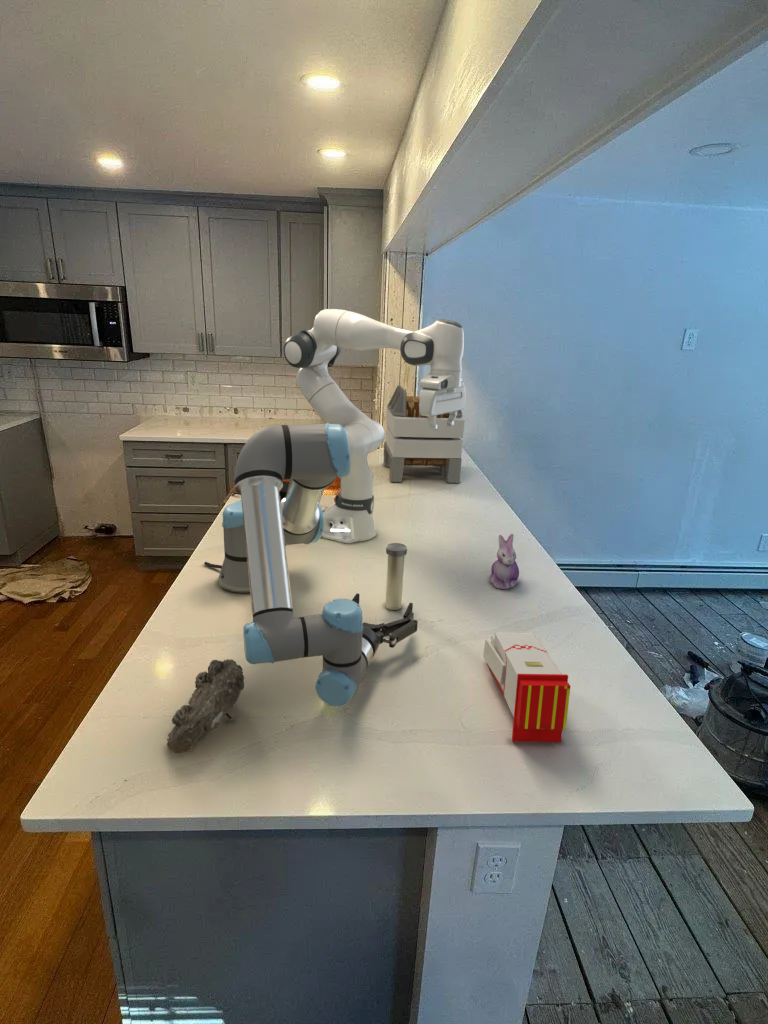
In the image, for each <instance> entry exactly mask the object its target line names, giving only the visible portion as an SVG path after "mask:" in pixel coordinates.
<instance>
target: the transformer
mask: <svg viewBox="0 0 768 1024" xmlns="http://www.w3.org/2000/svg"><path fill="white" fill-rule="evenodd" d="M407 394H408V393H407V390H406V389H404V388H403V387H402V385H399V384H398V385H397V386H396V388H395V390H394V392H393V394H392V395H391V398H390V400H389V402H388V404H387V405H386V413H385V414H386V415H385V423H386V428H385V439H384V441H383V466H384V467H388V468H389V475H388V476H389V477H388V478H389V480H390V482H391V483H402V482H403V475H404V469H405V466H406V467H407V466H411V467H412V466H413V467H415V466H416V467H417V466H418V467H436V468H437V470H438V469H439V473H440V474H441V475H443V478H444V479H445V481H446V482H447V483H449V484H455V483H456V484H459V483H461V472H462V461H463V460H462V453H463V442H464V441H463V440H462V439H463V438H464V431H465V430H464V429H465V419H464V418H463V411H462V410H459V411H457V416H456V418H455V421H454V426H451V427H450V426H447V420H448V419H449V415H450V414H449V413H445V414H440V415H437V417H436V419H435V421H436V424H438V426H437V430H435V431H430V429H429V427H430V424H429V421H428V416H422V415H421V414H420V412H419V399H420V396H415V395H414V396H413V395H412V396H411V395H407Z"/></svg>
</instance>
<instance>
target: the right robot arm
mask: <svg viewBox="0 0 768 1024" xmlns="http://www.w3.org/2000/svg"><path fill="white" fill-rule="evenodd" d="M464 346H465V333H464V327H463V326H462V325H461V323H459V322H457V321H454V320H450V319H446V318H445V319H443V318H441V319H440V318H439V319H436V320H435V321H434V322H433V323H432V324H430V325H428V326H426V327H424V328H421V329H417V330H409V329H406V328H401V327H395V326H392V325H389V324H387V323H384V322H381V321H379V320H376V319H373V318H371V317H369V316H366V315H364V314H361V313H358V312H355V311H350V310H346V309H341V308H339V309H338V308H324V309H321V310H320V311H319V312H318V313H317V314H316V315H315V317H314V320H313V326H312V328H311V329H308V330H307V329H302V330H301V331H298V332H296V333H294V334H292V335H291V336H289V337H288V338H286V340H285V341H284V343H283V348H282V352H283V356H284V359H285V361H286V362H287V364H289V366H291V367H292V368H296V369H298V370H297V373H296V375H295V381H296V383H297V386H298V387H299V389H300V391H301V393H302V395H303V396H304V398H305V399H306V401H307V402H308V404H309V405H310V406H311V407H312V409H313V410H314V412H315V413H316V414H317V415H318V417H319V418H320V419H321V421H322V422H323V423H324V424H326V423H329V424H340V425H342V426H343V427H344V428H345V430H346V433H347V437H348V442H349V450H350V473H349V475H348V476H346V477H342V478H339V479H340V488H339V489H340V490H339V491H338V492H337V494H336V495H335V496H334V497H333V502H334V504H333V505H331V506H329V507H328V508H326V509H324V510H322V512H323V518H324V525H323V528H322V529H323V532H322V536H321V538H323V539H326V540H330V541H336V542H339V543H343V544H352V543H357V542H365V541H368V540H372V539H373V538H375V537H376V535H377V532H376V528H375V523H374V513H373V512H374V509H375V496H374V473H373V471H372V470H371V469H370V466H369V462H368V454H370V453H373V452H375V451H376V450H378V449H379V448H380V447H381V446H382V444H384V442H385V438H386V431H385V429H384V427H383V425H382V424H381V423H380V422H378V421H376V420H374V419H372V418H370V417H369V416H368V415H366V414H365V413H364V412H363V411H362V410H361V409H359V408H358V407H357V406H356V405H354V404H353V402H351V401H350V399H349V398H348V397H347V395H346V394H345V393H344V392H343V390H342V388H340V386H339V385H338V384H337V382H336V381H335V380H334V379H333V378H332V376H331V375H330V373H329V370H328V368H331V367H333V366H334V364H335V362H336V359H338V357H339V356H340V354H341V351H342V349H345V350H351V351H370V350H377V349H378V350H380V349H393V350H397V351H399V352H400V356H401V358H402V359H403V361H404V362H405V363H406V364H408V365H410V366H415V367H420V366H430V371H429V373H428V374H426V376H424V377H423V378H421V379H420V380H419V387H420V388H421V390H420V391H419V397H420V399H419V412H420V414H421V415H422V416H428V421H429V424H430V427H429V429H430V431H435V430H437V426H438V424H436V421H435V419H436V417H437V415H440V414H445V413H449V414H450V415H449V419H448V420H447V426H450V427H451V426H454V421H455V418H456V416H457V411H459V410H461V411H463V410H465V407H466V404H467V403H466V402H467V401H466V400H467V399H466V398H467V391H466V390H467V389H466V386H465V382H464V380H463V378H462V373H463V372H462V371H463V367H462V359H463V356H464V349H465V347H464ZM235 495H238V496H241V495H240V494H238V493H237V492H233V493H232V494H231V495H230V496H231V497H234V496H235Z"/></svg>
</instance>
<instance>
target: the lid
mask: <svg viewBox="0 0 768 1024" xmlns="http://www.w3.org/2000/svg"><path fill="white" fill-rule="evenodd" d="M407 547H408V546H407V545H405V544H404V543H400V542H391V543H388V544H387V545H386V547H385V553H386V555H387V556H388V555H389V556H393V557H402V556H404V557H405V556H406V555H407V554H408V548H407Z"/></svg>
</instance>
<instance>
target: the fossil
mask: <svg viewBox="0 0 768 1024" xmlns="http://www.w3.org/2000/svg"><path fill="white" fill-rule="evenodd" d="M243 670H244V669H243V667H242V665H240V664H237V662H236V661H235V660H234V659H232V658H231V659H227V658H226V659H224V660H223V661H222V660H217V659H212V660H211V661H210V663H209V665H208V666H207V671H201V672H199V673H198V674H197V675H196V676H195V680H194V684H195V685H194V687H195V689H194V690H193V693H192V694H191V697H190V698H189V700H188V704H184V705H182V706H181V707H180V709H177V710H176V711H175V713H174V715H173V716H172V718H171V723H172V724H173V727H172V730H171V731H170V732H168V734H167V738H166V741H167V742H166V745H167V749H168V750H169V751H173V752H174V753H176V754H178V753H182V752H188V751H189V752H192V751H193V750H195V748H196V747H197V746H199V744H200V743H201V742H203V741H204V740H205V739H206V738H207V737H208V736H209V735H210V734H211V733H212V732H214V730H215V729H217V727H218V726H219V724H220V722H221V721H222V720H223V719H224V718H225V716H226V717H227V719H229V720H233V717H232V715H230V714H229V710H230V709H231V708H234V706H235V704H236V703H237V702H238V699H239V697H240V695H241V693H242V691H243V690H245V689H244V688H245V675H244V671H243Z"/></svg>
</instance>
